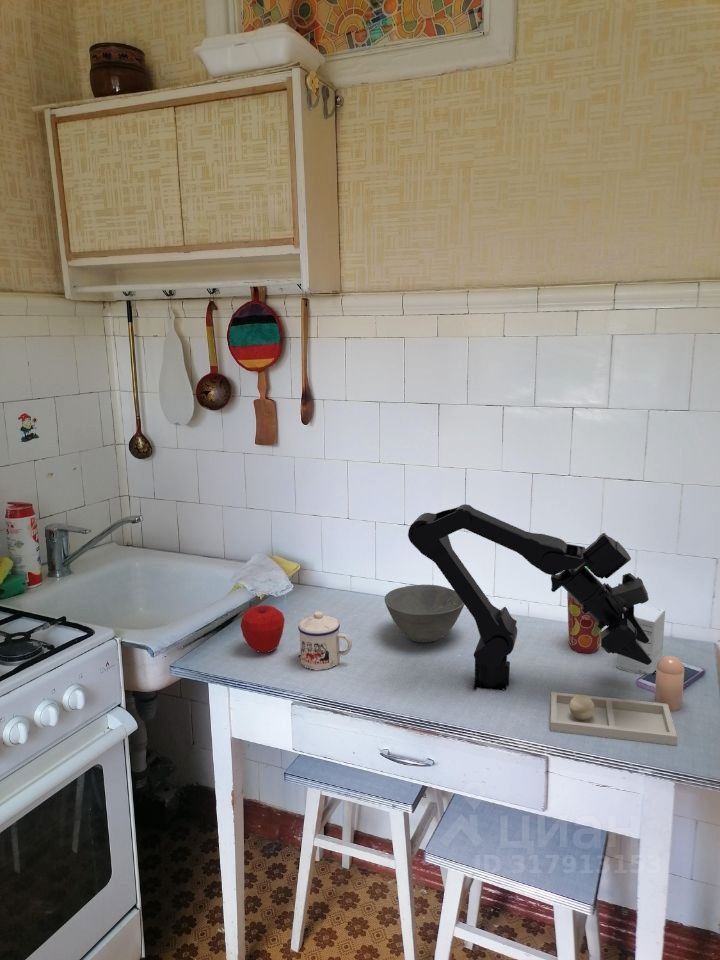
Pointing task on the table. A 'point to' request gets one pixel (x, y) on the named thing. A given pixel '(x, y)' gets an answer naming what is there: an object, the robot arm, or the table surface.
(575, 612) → the smoothie
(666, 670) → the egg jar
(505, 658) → the robot arm
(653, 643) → the supplement box
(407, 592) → the bowl
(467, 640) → the table surface
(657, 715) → the pulp tray
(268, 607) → the apple
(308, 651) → the teacup with lid
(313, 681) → the table surface
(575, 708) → the beige lumpy ball
